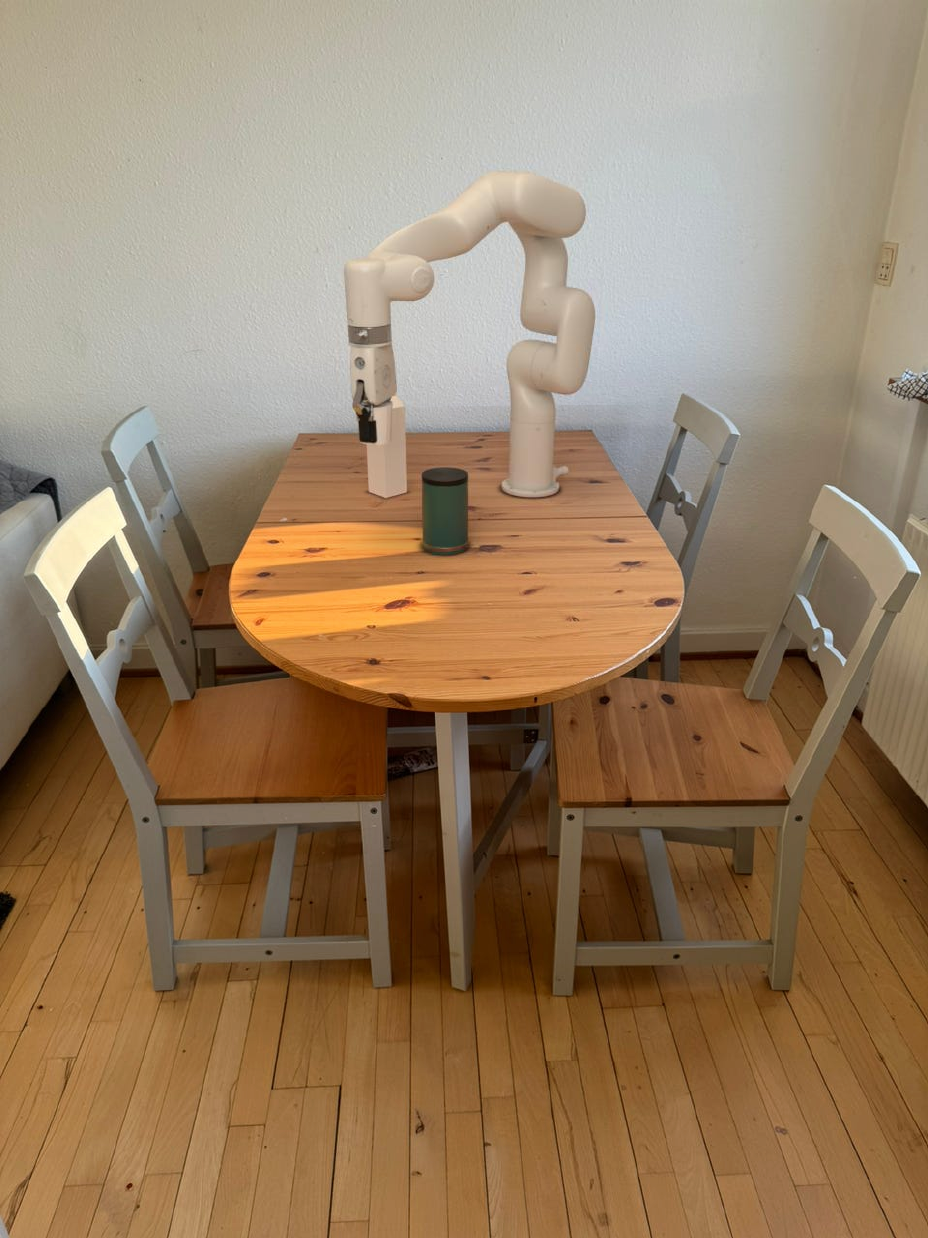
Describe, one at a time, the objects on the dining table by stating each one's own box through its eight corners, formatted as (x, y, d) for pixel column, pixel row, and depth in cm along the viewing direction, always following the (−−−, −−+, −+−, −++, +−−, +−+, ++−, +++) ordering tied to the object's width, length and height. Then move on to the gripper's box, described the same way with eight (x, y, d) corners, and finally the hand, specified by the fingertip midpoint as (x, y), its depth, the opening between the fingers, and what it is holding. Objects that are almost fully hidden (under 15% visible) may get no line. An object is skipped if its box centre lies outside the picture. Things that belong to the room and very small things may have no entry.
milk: (407, 492, 204) (405, 390, 194) (385, 498, 200) (382, 394, 191) (389, 485, 208) (387, 385, 198) (367, 491, 204) (364, 389, 195)
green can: (449, 535, 181) (449, 464, 175) (477, 548, 175) (478, 475, 169) (413, 544, 176) (412, 472, 170) (440, 558, 170) (439, 484, 164)
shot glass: (400, 437, 174) (398, 399, 170) (385, 447, 168) (383, 408, 165) (366, 434, 176) (364, 396, 173) (350, 444, 170) (347, 405, 167)
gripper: (369, 345, 155) (375, 452, 163) (408, 327, 169) (412, 426, 178) (328, 342, 157) (336, 448, 165) (370, 325, 172) (375, 423, 180)
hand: (375, 436), depth 171 cm, fingers closed on shot glass, 5 cm apart
